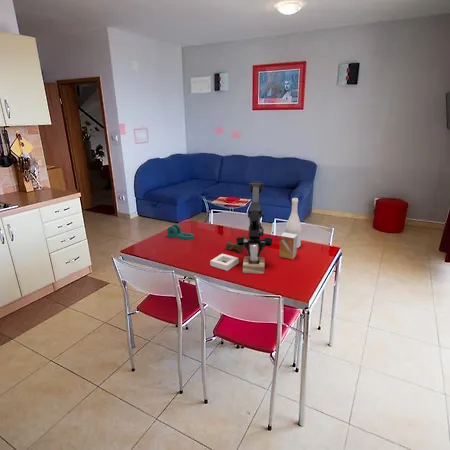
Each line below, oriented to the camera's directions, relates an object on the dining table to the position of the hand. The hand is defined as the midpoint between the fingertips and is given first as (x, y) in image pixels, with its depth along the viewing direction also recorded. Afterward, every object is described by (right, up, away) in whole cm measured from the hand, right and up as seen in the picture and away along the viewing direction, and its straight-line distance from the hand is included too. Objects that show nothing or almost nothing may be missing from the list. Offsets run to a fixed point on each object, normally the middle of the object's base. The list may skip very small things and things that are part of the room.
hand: (253, 256), depth 163 cm
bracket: (-44, +8, +49) cm, 66 cm away
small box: (+21, -2, +17) cm, 27 cm away
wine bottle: (+27, +3, +31) cm, 41 cm away
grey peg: (0, -6, +4) cm, 7 cm away
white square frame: (-15, -5, +9) cm, 18 cm away
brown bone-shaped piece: (-7, +2, +29) cm, 30 cm away
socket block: (0, -6, +4) cm, 7 cm away
